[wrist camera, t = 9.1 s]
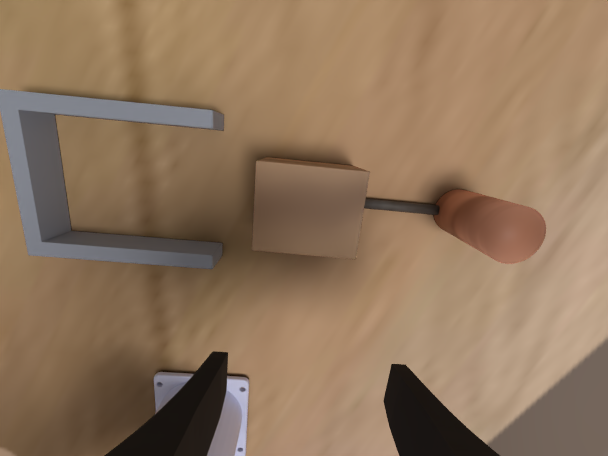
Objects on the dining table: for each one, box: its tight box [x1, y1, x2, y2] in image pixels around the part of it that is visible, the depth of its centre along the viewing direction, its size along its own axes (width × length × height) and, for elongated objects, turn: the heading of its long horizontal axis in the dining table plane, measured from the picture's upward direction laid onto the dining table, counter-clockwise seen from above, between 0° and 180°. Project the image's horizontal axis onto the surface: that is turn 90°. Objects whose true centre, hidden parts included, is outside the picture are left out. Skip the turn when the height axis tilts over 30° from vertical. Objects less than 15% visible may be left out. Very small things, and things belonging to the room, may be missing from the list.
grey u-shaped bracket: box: [0, 89, 224, 269], centre depth 19 cm, size 10×12×2 cm
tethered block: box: [252, 157, 546, 264], centre depth 18 cm, size 5×16×6 cm, turn 84°
